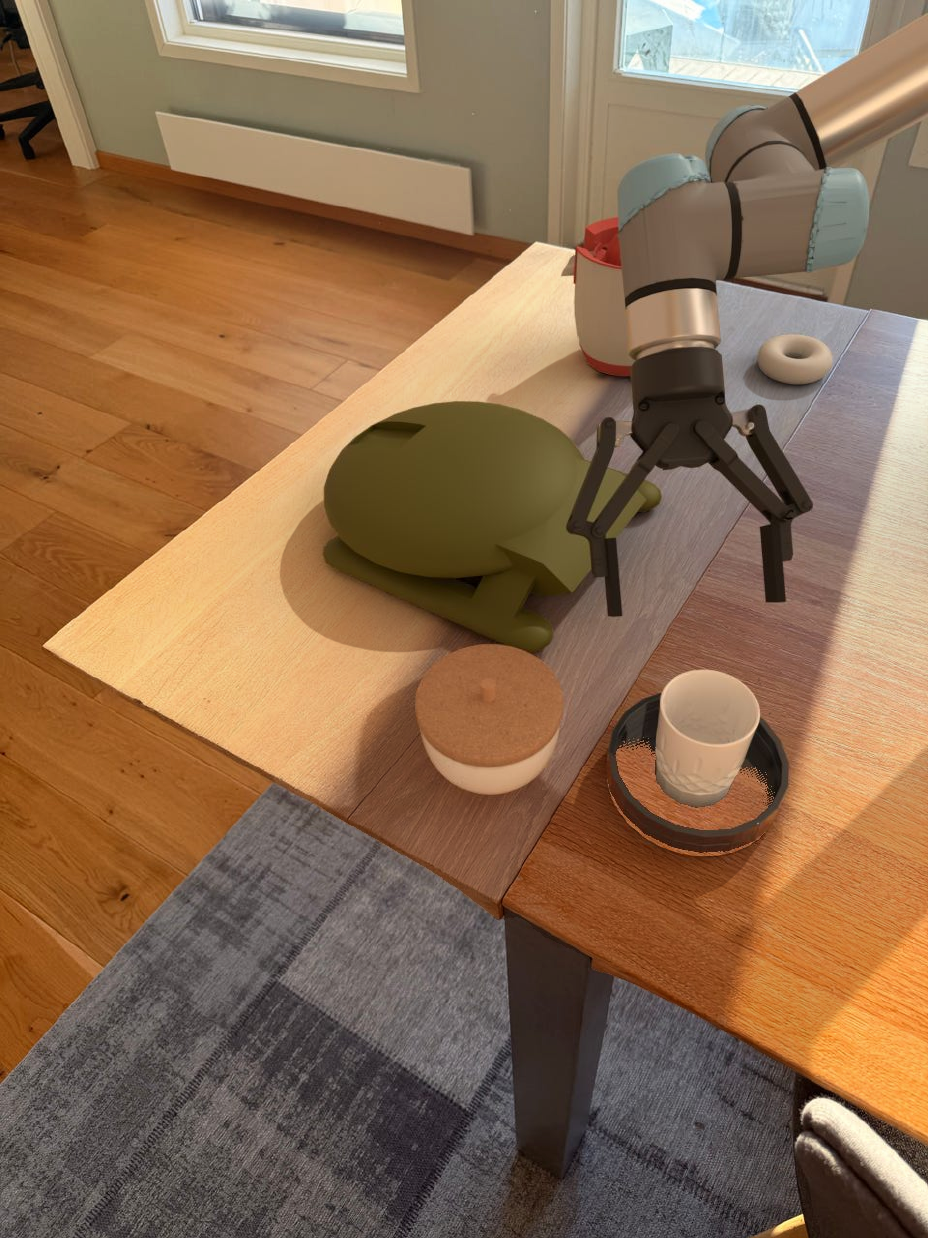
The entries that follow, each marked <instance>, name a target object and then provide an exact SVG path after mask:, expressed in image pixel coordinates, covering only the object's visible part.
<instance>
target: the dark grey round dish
mask: <svg viewBox="0 0 928 1238" xmlns="http://www.w3.org/2000/svg"><path fill="white" fill-rule="evenodd" d="M661 694H662V691H661V692H658V693H656V694H653V695H649V696H647V697H644V698H642V699H640V700H639V701H638V702H637V703H634V705H632V706H631V707H630V708H628V709H627V710H625V711H624V712H623V714H622V715H621V717H620V718H619V720H618V721H617V722H616V724H615V726H614V727H613V729H612V730H611V733H610V734H611V735H610V739H609V744H608V750H607V757H606V765H605V774H606V773H607V776H606V780H607V779H608V784H609V789H610V792H611V794H612V796H613V797H614V799H615V801H616V803H617V805H618V806H619V808H620V809H621V811H622V812H623V814H624V815H625V816H626V817H627V818H628V819H629V820H630V821H631V822H632V823H633V824H635V826H637V827H638V828H639V829H640V830H641V831H642V832H643V833H644V834H646V835H648V836H651V837H652V838H654V839H656V840H659V841H660V842H662V843H665V844H667V845H668V846H671V847H674V848H678V849H682V850H688V851H694V852H699V853H703V852H706V853H707V852H718V851H720V852H721V851H723V852H725V851H730V850H732V849H735V848H739V847H741V846H744V845H746V844H749V843H750V842H753V841H755V840H756V839H757V838H758V837H759V836H761V835H762V834H763V833H764V832H765V831H767V830H768V829H769V830H770V828H772V826H773V825H774V822H775V820H776V818H777V816H778V814H779V812H780V810H781V807H782V805H783V802H784V800H785V798H786V795H787V792H788V790H789V785H790V784H789V783H790V763H789V759H788V757H787V753H786V751H785V748H784V745H783V743H782V740H781V738H780V737H779V736H778V735H777V734H776V732H775V731H774V730H773V729H772V727H771V726H770V725H769V723H768V722H767V721H766V720H765V718H763V717H761V716H760V719H759V723H758V726H757V728H756V731H755V733H754V736H753V738H752V741H751V743H750V746H749V748H748V751H747V753H746V756H745V758H744V761H743V763H742V766H741V767H742V769H744V768H746V767H748V768H746V770H747V769H749V768H750V769H749V771H750V770H752V769H753V768H755V767H756V769H757V771H758V773H756V772H757V771H755V770H756V769H753V771H755V772H754V773H756V774H755V775H757V774H759V775H757V776H756V777H758V776H760V775H761V774H763V775H761V776H760V777H758V778H757V779H759V778H761V777H762V776H764V777H762V778H761V779H759V781H760V780H762V779H763V778H765V779H763V780H762V781H760V783H761V782H763V781H764V780H766V779H767V780H766V781H764V782H763V783H765V782H767V783H765V785H766V784H767V786H768V788H769V789H768V788H767V791H768V793H769V792H770V793H769V794H767V793H766V794H767V796H769V797H771V796H773V797H774V799H773V797H771V798H772V800H773V802H770V801H772V800H770V799H771V798H769V797H767V798H769V799H768V800H769V802H770V803H768V802H767V803H768V804H767V805H769V804H771V803H772V804H771V805H769V806H768V808H767V809H766V810H765V811H764V812H762V813H761V814H760V815H759V816H758V817H757V818H756V819H754V820H752V821H749V822H747V823H744V824H742V825H739V826H737V827H734V828H731V829H718V830H699V829H694V828H689V827H684V826H680V825H675V824H673V823H671V822H669V821H667V820H665V819H663V818H661V817H659V816H657V815H655V814H653V813H651V812H650V811H649V810H648V809H647V808H646V807H644V806H643V805H642V804H641V803H640V802H639V801H638V800H637V799H635V798H634V797H633V796H632V795H631V793H630V792H629V790H628V788H627V787H626V785H625V783H624V782H623V780H622V778H621V777H620V775H619V771H618V766H617V761H616V756H615V755H616V751H617V749H619V748H622V747H625V746H629V745H632V744H635V743H636V745H635V746H637V745H640V744H643V743H645V745H648V744H650V745H649V747H650V746H651V747H650V749H652V750H651V752H652V751H655V750H656V748H655V747H656V735H657V726H658V717H659V708H660V698H661ZM643 737H644V738H643ZM633 738H634V739H633ZM648 738H649V739H648ZM629 739H630V740H629ZM637 739H639V741H637ZM628 740H629V741H628ZM643 740H644V742H640V741H643ZM623 741H625V743H624V742H623ZM632 741H635V742H632ZM648 741H649V742H648ZM629 742H631V743H630V744H628V743H629ZM637 742H640V743H639V744H638V743H637ZM646 742H648V743H646ZM626 743H627V744H626ZM623 744H626V745H625V746H623ZM620 745H622V746H621V747H619V746H620ZM645 745H644V746H645ZM631 747H634V746H633V745H632V746H631ZM631 747H630V748H631ZM640 747H643V746H640ZM628 748H629V747H627V748H626V749H628ZM637 748H638V747H637ZM637 748H636V749H637ZM646 748H648V747H646ZM650 749H649V750H650ZM632 750H634V749H632ZM621 751H622V750H621ZM652 754H655V753H652ZM652 754H651V755H652ZM741 767H740V768H741ZM751 767H752V768H751ZM742 769H740V770H739V771H741V770H742ZM759 770H760V771H759ZM743 771H745V770H743ZM753 771H751V772H753ZM747 772H748V771H747ZM751 772H750V773H751ZM760 772H761V773H760ZM765 772H766V773H765ZM740 773H742V772H740ZM744 774H745V773H744ZM752 774H753V773H752ZM752 774H751V775H752ZM766 774H767V775H766ZM747 775H748V774H747ZM748 777H749V776H748ZM752 777H753V776H752ZM757 782H758V781H757ZM761 785H762V784H761ZM767 786H766V787H767ZM771 786H772V787H771ZM770 789H771V790H770ZM765 790H766V789H765ZM767 791H765V792H767ZM771 791H772V792H771ZM774 792H775V793H774ZM772 793H773V794H772ZM770 794H771V795H770ZM763 796H764V795H763ZM768 800H767V801H768ZM763 803H764V802H763ZM765 804H766V803H765ZM767 805H766V806H767ZM769 830H768V831H769ZM768 831H767V832H768Z"/></svg>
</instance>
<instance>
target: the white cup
mask: <svg viewBox="0 0 928 1238" xmlns="http://www.w3.org/2000/svg"><path fill="white" fill-rule="evenodd" d="M661 692H662V694H661V698H660V708H659V717H658V726H657V735H656V751H655V756H656V760H655V775H656V781H657V783H658V784H659V785H660V787H661V789H662V790H663V792H664V793H665V794H666V795H668V796H669V797H670V798H672V799H674V800H675V801H676V802H678V803H680V804H684V805H688V806H691V807H695V808H698V807H705V806H711V805H714V804H716V803H717V802H719V801H720V800H722V799H723V798H725V797H726V796H727V794H728V792H729V790H730V787H731V785H732V783H733V781H734V778H735V777H736V776H737V774H738V772H739V770H740V767H741V766H742V763H743V761H744V758H745V756H746V753H747V751H748V748H749V746H750V743H751V741H752V738H753V736H754V733H755V731H756V728H757V726H758V723H759V719H760V717H761V709H760V704H759V702H758V700H757V697H756V696H755V694H754V693H753V691H752V690H751V689H750V688H749V687H748V686H747V685H746V684H745V683H743V682H742V680H741V681H740V680H739V679H738V678H736V677H734V676H732V675H731V674H730V675H729V674H728V673H725V672H722V671H719V670H714V669H693V670H688V671H684V672H682V673H680V674H678V675H676V676H674V677H672V678H671V679H670V680H669V681H668V682H667V683H666V685H665V686H664V687H663V690H662V691H661Z"/></svg>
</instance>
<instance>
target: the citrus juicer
mask: <svg viewBox="0 0 928 1238" xmlns="http://www.w3.org/2000/svg"><path fill="white" fill-rule="evenodd" d="M618 229H619V226H618V216H616V217H610V218H606V219H605V218H604V219H601V220H598V221H596V222H592V223H590V224H589V225H587V226H585V228H584V238H583V239H584V240H583V247H581V246H578V245H575V246H574V247H575V249H574V254H573V255H571V256H570V258H569V259H568V262H567V263H566V265H565V267H564V268H563V269H562V271H561V273H560V277H573V285H574V299H573V304H574V305H573V307H574V309H573V311H574V322H575V328H576V335H577V338H578V345H579V347H580V351H581V353H582V355H583V357H584V360H585V361H586V363H587V364H588V365H589V366H590V367H591V368H593V369H594V370H596V371H598V372H601V373H603V374H607V375H611V376H615V377H631V375H630V367H631V366H632V364H633V363H634V362H635V361H636V360H634V359H632V358H631V357H630V356H629V349H628V335H627V320H626V309H625V298H624V288H623V277H622V267H621V256H620V246H619V240H618Z"/></svg>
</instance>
